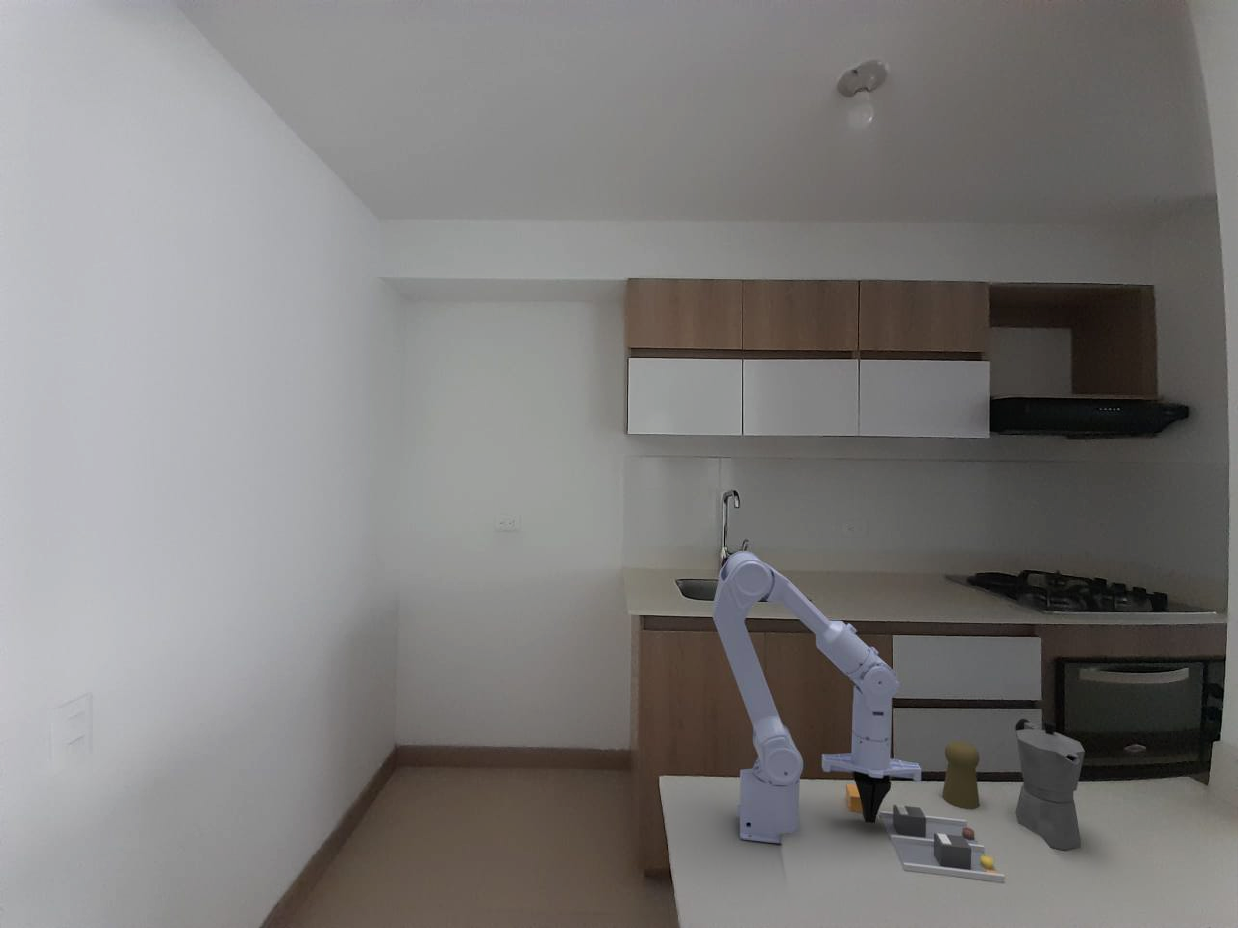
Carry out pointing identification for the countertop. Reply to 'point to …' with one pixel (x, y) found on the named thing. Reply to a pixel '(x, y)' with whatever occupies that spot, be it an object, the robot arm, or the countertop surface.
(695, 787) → the countertop surface
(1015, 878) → the countertop surface
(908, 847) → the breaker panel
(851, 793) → the block
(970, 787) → the cork
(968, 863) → the toggle
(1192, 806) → the countertop surface
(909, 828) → the toggle
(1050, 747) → the coffeepot
